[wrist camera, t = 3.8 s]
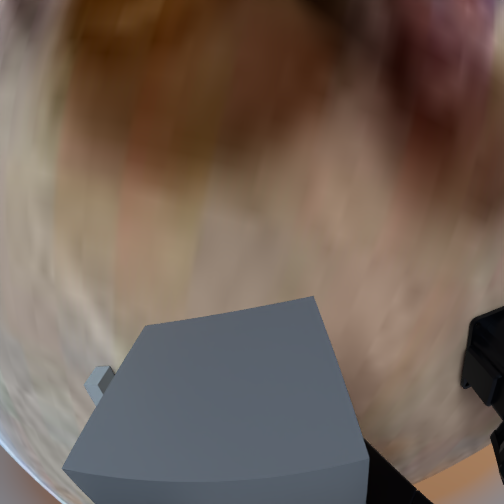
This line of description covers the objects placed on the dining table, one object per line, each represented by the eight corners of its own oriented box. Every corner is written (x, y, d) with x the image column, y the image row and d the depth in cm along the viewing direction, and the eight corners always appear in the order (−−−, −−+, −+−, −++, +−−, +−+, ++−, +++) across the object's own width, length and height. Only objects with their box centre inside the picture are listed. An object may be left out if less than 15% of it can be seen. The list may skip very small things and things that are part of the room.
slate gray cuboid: (313, 295, 8) (369, 458, 3) (334, 472, 10) (354, 578, 5) (145, 325, 8) (61, 468, 3) (223, 486, 10) (212, 589, 6)
